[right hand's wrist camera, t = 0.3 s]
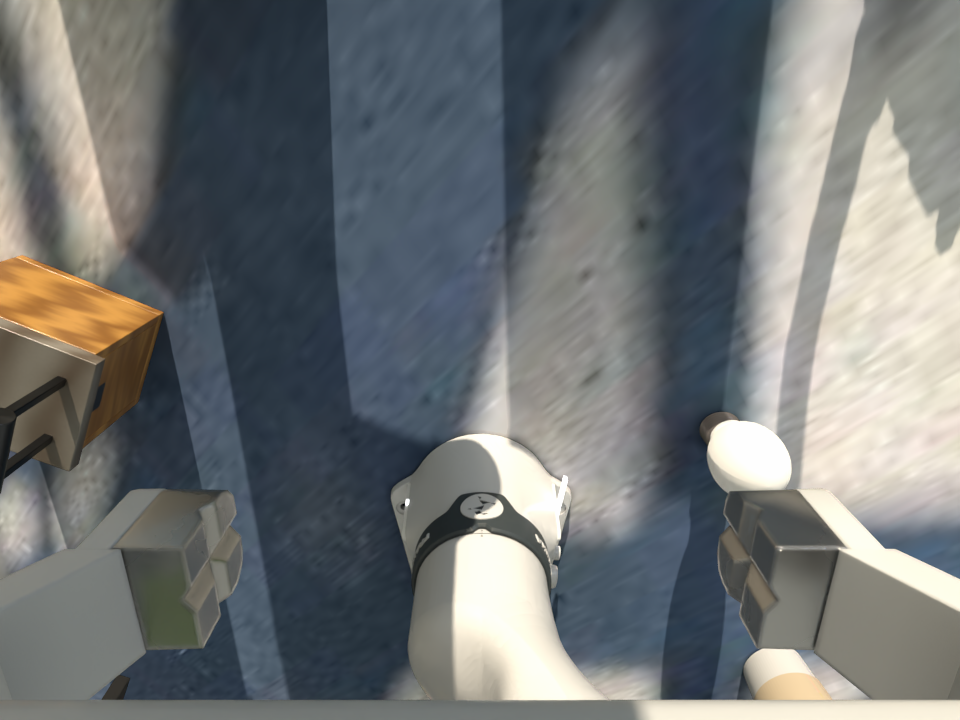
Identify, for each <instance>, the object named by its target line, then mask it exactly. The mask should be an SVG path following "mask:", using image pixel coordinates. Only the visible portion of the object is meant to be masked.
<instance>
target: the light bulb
mask: <svg viewBox="0 0 960 720" xmlns="http://www.w3.org/2000/svg"><path fill="white" fill-rule="evenodd" d="M700 435H701V437H702V439H703V440H704V441H705V443H706V444H707V446H708V450H707V461H708V466H709V469H710V472H711V474H712V476H713V478H714V479H715V481H716V482H717V483H718V485H719V486H720V487H721V488H722V489H723V490H724V491H726V492H727V493H728V494H729V492H730V491H757V490H785V488H786V487H787V485H788V483H789V480H790V477H791V460H790V456H789V453H788V451H787V449H786V447H785V445H784V444H783V442H782V441H781V440H780V439H779V438H778V436H777V435H775V434H774V433H773V432H772V431H770V430H769V429H767V428H766V427H764V426H762V425H759V424H757V423H753V422H747V421H739V419H738V418H737V417H736V416H735V415H733V414H731V413H727V412H717V413H714V414H711V415H709V416H708V417H706V418H705V419H704V420H703V422H702V423H701V425H700Z"/></svg>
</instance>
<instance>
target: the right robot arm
mask: <svg viewBox="0 0 960 720" xmlns="http://www.w3.org/2000/svg"><path fill="white" fill-rule="evenodd" d="M567 481H568V480H567V476H563V480H562V482H561V481H560V480H558V479H556V478H555V477H553V476H551V475H550V474H549V473H548V472H547V471H546V470H545V468H544V467H543V465H542V464H541V463H540V461H539V460H538V459H537V458H536V456H535V455H534V454H533V453H531V452H530V451H529V450H528V449H527V448H525V447H524V446H522V445H521V444H519V443H517V442H515V441H513V440H510V439H508V438H505V437H501V436H497V435H491V434H472V435H465V436H461V437H458V438H455V439H452V440H450V441H447V442H445V443H444V444H442V445H440V446H439V447H437V448H436V449H434V450H433V451H432V452H431V453H430V454H429V455H428V456H427V457H426V458H425V459H424V460H423V462H422V463H421V465H420V466H419V467H418V469H417V470H416V471H415V472H414V473H413V474H412V475H411V476H409V477H407V478H405V479H404V480H402V481H400V482H399V483H397V484H396V485H395V486H394V487H393V488H392V490H391V502H392V505H393V509H394V512H395V516H396V519H397V523H398V526H399V530H400V533H401V537H402V540H403V544H404V547H405V551H406V554H407V558H408V561H409V565H410V568H411V574H412V591H413V595H414V602H413V609H412V617H411V624H410V632H409V640H408V656H409V661H410V665H411V668H412V671H413V673H414V676H415V678H416V679H417V681H418V683H419V684H420V686H421V688H422V689H423V691H424V692H425V693H426V695H427V696H428V697H429V699H430V700H88V699H90V698H91V697H92V696H93V695H95V694H96V693H97V692H98V691H100V690H101V689H102V688H103V687H105V686H106V685H107V684H108V683H109V682H111V681H112V680H113V679H114V678H116V677H117V676H118V675H119V674H121V673H122V672H123V671H124V670H126V669H127V668H128V667H129V666H131V665H132V664H133V663H134V662H136V661H137V660H138V659H139V658H140V657H142V656H143V655H144V654H145V653H146V650H165V649H200V648H204V646H205V644H206V642H207V640H208V639H209V637H210V635H211V633H212V631H213V629H214V627H215V625H216V623H217V622H218V620H219V618H220V616H221V614H220V608H219V603H220V602H221V601H223V600H224V599H226V598H227V597H229V596H230V595H232V593H233V591H234V589H235V587H236V585H237V583H238V580H239V576H240V571H241V567H242V550H243V549H242V542H241V536H240V535H239V534H238V533H237V532H236V531H235V530H234V529H233V528H232V527H231V526H230V523H231V522H232V520H233V518H234V517H235V515H236V514H237V511H236V507H235V502H234V497H233V495H232V494H231V493H230V492H229V491H228V490H198V489H136V490H132V491H130V492H129V493H128V494H127V495H126V496H125V497H124V498H123V499H122V500H121V501H120V502H119V503H118V505H117V506H116V507H115V508H114V509H113V510H112V511H111V512H110V513H109V514H108V515H107V516H106V517H105V518H104V519H103V520H102V521H101V522H100V523H99V524H98V525H97V527H96V528H95V529H94V530H93V531H92V532H91V533H90V534H89V535H88V536H87V537H86V538H85V539H84V540H83V541H82V542H81V543H80V544H79V545H78V546H77V547H76V549H64V550H62V551H60V552H57V553H55V554H53V555H51V556H49V557H47V558H45V559H42V560H40V561H38V562H36V563H34V564H32V565H30V566H27V567H25V568H23V569H21V570H19V571H17V572H15V573H12V574H10V575H8V576H6V577H4V578H2V579H0V720H960V579H958V578H956V577H954V576H952V575H950V574H947V573H945V572H943V571H941V570H939V569H937V568H935V567H932V566H930V565H928V564H926V563H924V562H922V561H920V560H917V559H915V558H913V557H911V556H909V555H907V554H905V553H903V552H900V551H898V550H896V549H885V548H884V547H883V546H882V545H881V544H880V543H879V542H878V541H877V540H876V539H875V538H874V537H873V536H872V535H871V534H870V533H869V532H868V531H867V530H866V529H865V527H864V526H863V525H862V524H861V523H860V522H859V521H858V520H857V519H856V518H855V517H854V516H853V515H852V514H851V513H850V512H849V511H848V510H847V509H846V508H845V507H844V505H843V504H842V503H841V502H840V501H839V500H838V499H837V498H836V497H835V496H834V495H833V494H832V493H831V492H830V491H828V490H825V489H823V488H816V489H791V490H757V491H730V492H729V494H728V496H727V498H726V500H725V506H724V511H723V514H724V515H725V517H726V518H727V520H728V522H729V523H730V526H729V527H728V528H727V529H726V530H725V531H724V532H723V533H722V534H721V535H720V536H719V543H718V551H717V557H718V568H719V573H720V576H721V580H722V583H723V585H724V587H725V589H726V591H727V593H728V595H730V596H731V597H733V598H734V599H736V600H737V601H739V602H740V603H741V608H740V614H739V616H740V618H741V620H742V622H743V623H744V625H745V627H746V629H747V631H748V633H749V635H750V637H751V638H752V640H753V642H754V644H755V646H756V648H759V649H795V650H814V653H815V654H816V655H817V656H819V657H820V658H821V659H822V660H824V661H825V662H826V663H827V664H828V665H830V666H831V667H832V668H833V669H835V670H836V671H837V672H838V673H840V674H841V675H842V676H843V677H845V678H846V679H847V680H848V681H850V682H851V683H852V684H853V685H854V686H856V687H857V688H858V689H859V690H861V691H862V692H863V693H864V694H866V695H867V696H868V697H869V698H871V699H872V700H609V699H608V698H607V697H606V696H605V695H603V694H602V693H601V692H600V691H599V690H598V689H597V688H596V687H595V686H594V685H593V684H592V683H591V682H590V681H589V680H588V679H587V678H586V677H585V676H584V675H583V674H582V673H581V672H580V670H579V669H578V668H577V667H576V665H575V664H574V663H573V662H572V660H571V659H570V657H569V656H568V654H567V653H566V651H565V649H564V648H563V646H562V644H561V641H560V639H559V636H558V632H557V628H556V625H555V621H554V617H553V613H552V608H551V603H550V598H549V596H550V592H551V588H555V587H556V584H557V578H558V569H557V566H555V565H553V560H559V559H560V554H561V548H560V546H558V544H559V541H560V539H561V534H562V530H563V527H564V524H565V520H566V517H567V513H568V510H569V507H570V503H571V499H572V498H571V490H570V488H569V487H568V486H567ZM403 503H405V506H403V505H402V504H403Z"/></svg>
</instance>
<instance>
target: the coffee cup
mask: <svg viewBox="0 0 960 720" xmlns="http://www.w3.org/2000/svg"><path fill="white" fill-rule="evenodd" d="M743 673H744V677H745V680H746V682H747V685H748V687H749V690H750V693H751V695H752V698H753V700H832V698H831V697H830V695H829V694H828V693H827V691H826V690H825V688H824V687H823V686H822V684H821V683H820V682H819V680H817V679H816V678H815V676H814V675H813V674H812V672H811V671H810V669H809V668H808V667H807V665H806V664H805V662H804V661H803V659H802V658H801V657H800V655H799V654H798V653H797V652H796V651H795V650H793V649H761V650H759V651H757V652H755V653H754V654H753V655H752V656H750V658H749V659H748V660H747V661H746V663H745V665H744V669H743Z"/></svg>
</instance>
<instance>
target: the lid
mask: <svg viewBox="0 0 960 720" xmlns="http://www.w3.org/2000/svg"><path fill="white" fill-rule="evenodd" d="M104 363H105V358H102V357H100V356H97V355H95V354H92V353H89V352H87V351H84V350H82V349H79V348H77V347H74V346H71V345H69V344H66V343H64V342H61V341H58V340H56V339H53V338H51V337H48V336H46V335H43V334H40V333H38V332H35V331H33V330H30V329H27V328H25V327H22V326H20V325H17V324H15V323H12V322H9V321H7V320H4V319H2V318H0V493H1V490H2V485H3V481H4V479H5V478H6V477H7V476H9V475H10V474H11V473H13V472H14V471H15V470H17V469H18V468H19V467H21V466H22V465H23V464H24V463H26V462H27V461H28V460H30V459H31V458H33V459H35V460H38V461H41V462H44V463H47V464H49V465H52V466H55V467H58V468H61V469H63V470H66V471H71V470H72V469H73V468H74V467H75V466H76V465H78V464H79V460H80V456H81V452H82V448H83V444H84V440H85V437H86V433H87V429H88V425H89V421H90V417H91V413H92V410H93V406H94V402H95V398H96V394H97V390H98V386H99V382H100V379H101V375H102V371H103V367H104ZM10 451H13V452H16V453H17V454H15V455H14V456H13V457H11V458H10V459H8V457H9V452H10Z"/></svg>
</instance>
